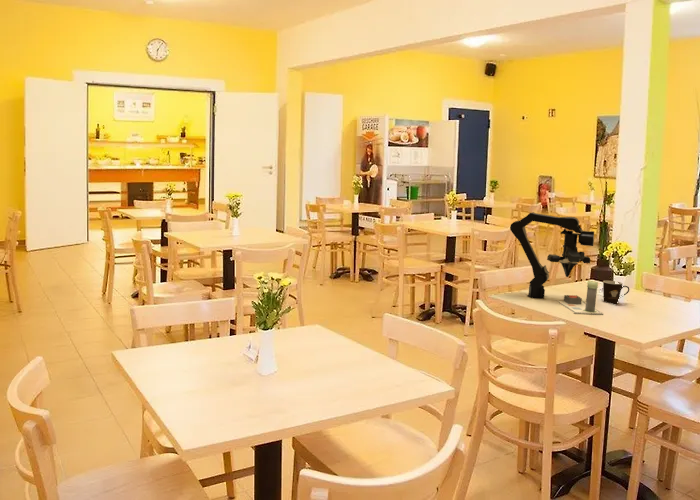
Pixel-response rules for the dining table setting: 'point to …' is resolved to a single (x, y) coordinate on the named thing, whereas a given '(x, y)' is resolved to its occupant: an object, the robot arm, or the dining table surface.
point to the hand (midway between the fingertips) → (567, 276)
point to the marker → (591, 296)
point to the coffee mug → (612, 291)
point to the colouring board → (579, 308)
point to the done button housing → (572, 299)
